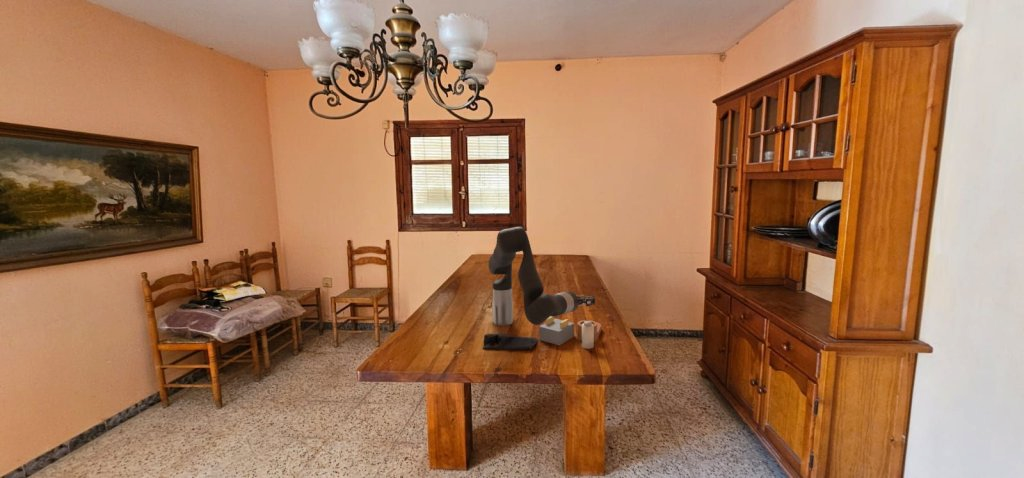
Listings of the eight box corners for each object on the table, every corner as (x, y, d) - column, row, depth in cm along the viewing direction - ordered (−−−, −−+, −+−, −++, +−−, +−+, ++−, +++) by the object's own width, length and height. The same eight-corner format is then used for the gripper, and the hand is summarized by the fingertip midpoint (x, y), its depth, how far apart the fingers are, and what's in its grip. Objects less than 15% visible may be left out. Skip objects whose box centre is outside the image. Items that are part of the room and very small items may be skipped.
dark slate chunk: (531, 355, 156) (531, 343, 156) (479, 350, 162) (479, 339, 162) (539, 339, 171) (539, 329, 170) (491, 335, 177) (491, 325, 176)
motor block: (559, 345, 163) (559, 325, 162) (539, 339, 170) (539, 320, 168) (577, 334, 175) (577, 315, 173) (558, 329, 181) (558, 311, 180)
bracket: (595, 343, 164) (595, 328, 163) (575, 341, 168) (575, 325, 167) (602, 328, 181) (602, 313, 180) (584, 326, 184) (584, 312, 183)
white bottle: (585, 349, 159) (585, 325, 158) (579, 344, 164) (579, 321, 162) (595, 347, 160) (595, 323, 159) (590, 343, 165) (590, 319, 163)
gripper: (582, 293, 136) (600, 289, 149) (546, 290, 144) (565, 286, 157) (582, 315, 136) (600, 309, 149) (546, 311, 144) (565, 305, 157)
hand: (582, 297), depth 153 cm, fingers open, 8 cm apart
